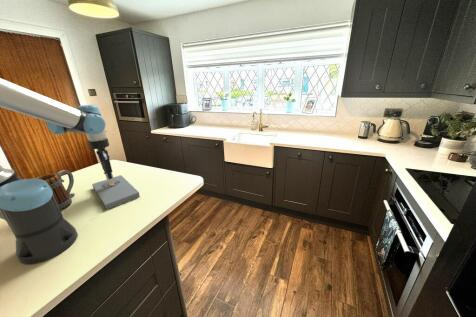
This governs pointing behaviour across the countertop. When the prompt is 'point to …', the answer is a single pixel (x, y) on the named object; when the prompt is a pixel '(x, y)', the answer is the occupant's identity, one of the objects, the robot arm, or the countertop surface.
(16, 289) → the countertop surface
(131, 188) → the plate
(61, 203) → the mug
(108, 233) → the countertop surface
